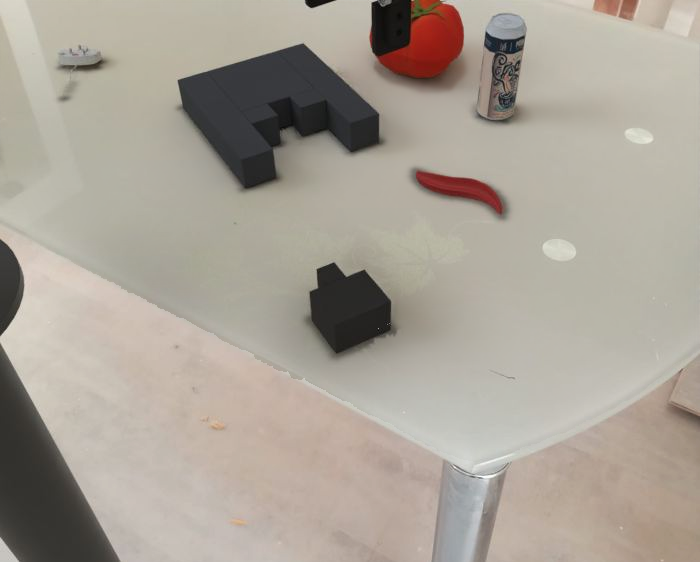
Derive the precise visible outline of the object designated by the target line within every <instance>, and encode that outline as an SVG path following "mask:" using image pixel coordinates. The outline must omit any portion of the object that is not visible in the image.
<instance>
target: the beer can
mask: <svg viewBox="0 0 700 562" xmlns="http://www.w3.org/2000/svg"><path fill="white" fill-rule="evenodd" d="M527 28H528V27H527V24H526V22H525V19H524V18H523V17H522V16H521V15H520V14H515V13H512V12H500V13H497V14H495V15H492V16H491V18H490V20H489V21H488V23H487V24H486V26H485V32H484V41H483V51H482V58H481V59H482V60H481V68H480V77H479V83H478V84H479V85H478V94H477V102H476V111H477V113H478V115H480V116H481V117H483V118H485V119H487V120H490V121H502V120H505V119H508V118H510V117H512V116H513V115H514V113H515V107H516V101H517V95H518V87H519V81H520V76H521V75H520V74H521V70H522V69H521V68H522V62H523V56H524V49H525V43H526V36H527V32H528V29H527Z"/></svg>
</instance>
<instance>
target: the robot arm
mask: <svg viewBox="0 0 700 562" xmlns="http://www.w3.org/2000/svg"><path fill="white" fill-rule="evenodd" d="M336 1H337V0H304V3H305V6H307V7H308V8H310V9H314V8H317V7H320V6H324V5H326V4H330V3H333V2H336ZM412 1H413V0H375V1H371V8H370V10H371V11H370V12H371V13H370V15H371V25H372V48H371V52H372V54H374V56H375V55H376V56H378V57H379V56H383V55H385V54H388V53H391V52H393V51H396V50H399V49H402V48H404V47H407V46H408V45H409V44H410V41H411V2H412ZM376 56H375V57H376Z"/></svg>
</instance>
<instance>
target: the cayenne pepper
mask: <svg viewBox="0 0 700 562" xmlns="http://www.w3.org/2000/svg"><path fill="white" fill-rule="evenodd" d="M415 177H416V179H417V181H418V183H419V184H421V185H422V186H423V187H424V188H426V189H428V190H430V191H432V192H435V193H438V194H441V195H442V194H443V195H447V196H454V197H461V198H468V199H472V200H478V201H479V202H483V203H485V204H487V205H489V206H490V207H492V208H493V209H494V210H495V211H496V212H497V213H498V215H502V213H503V205H502V202H501V199H500V197H499V196H498V194H497V193H496V192H495V190H494V189H493V188H492V187H491V186H489V185H488V184H487V183H484V182H482V181H480V180H477V179H475V178H471V177H460V176H450V175H443V174H439V173H438V174H437V173H432V172H428V171H427V172H426V171H420V170H416V172H415Z"/></svg>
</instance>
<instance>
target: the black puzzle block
mask: <svg viewBox="0 0 700 562" xmlns="http://www.w3.org/2000/svg"><path fill="white" fill-rule="evenodd" d="M315 272H316V285H317V288H315V289H313V290H309V303H310V305H309V306H310V315H311V322H312V323H313V324H314V326H315V328H316V329H317V330H318V332H319V333H320V334H321V335H322V337H323V339H325V341H326V342H327V344H328V345H329V347H330V348H331V349H332V351H333V352H334V353H335V354H336V355H337V354H339V353H342V352H344V351H346V350H348V349H351V348H353V347H356V346H358V345H360V344H363V343H364V342H367V341H369V340H371V339H374V338H376V337H378V336H381V335H383V334H385V333H388V332H389V331H391V329H392V328H391V327H392V325H391V324H392V323H391V322H392V300H391V299H390V298H389V297H388V295H387V294H386V293H385V292H384V291H383V290H382V288H381V287H380V286H379V284H377V283H376V281H375V280H374V279H373V278H372V277H371V275H370V274H369V273H368V272H367V270H366V269H362V270H359V271H357V272H354V273H352V274H350V275H347V276H346V274H345V273H344V272H343V271H342V270H341V267H339V266H338V265H337V264H336V262H335V261H333V262H331V263H329V264H326V265H324V266H320V267H319V268H316V271H315ZM389 323H390V324H389ZM387 324H388V325H387ZM378 328H379V329H378Z"/></svg>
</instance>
